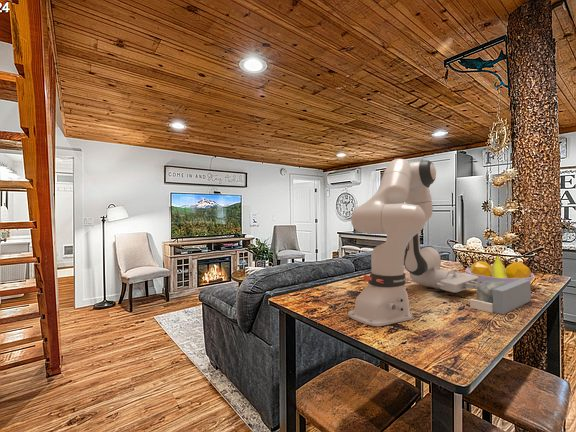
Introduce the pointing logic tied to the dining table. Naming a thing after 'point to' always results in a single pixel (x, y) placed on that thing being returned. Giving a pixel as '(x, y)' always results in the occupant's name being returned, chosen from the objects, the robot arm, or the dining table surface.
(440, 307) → the dining table surface
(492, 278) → the fruit bowl
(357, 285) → the dining table surface
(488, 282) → the grey stone
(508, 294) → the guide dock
